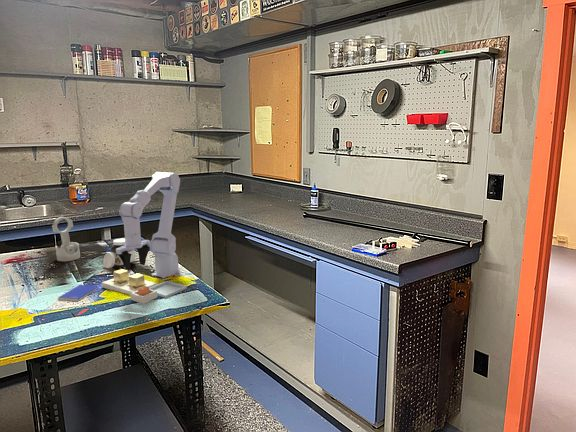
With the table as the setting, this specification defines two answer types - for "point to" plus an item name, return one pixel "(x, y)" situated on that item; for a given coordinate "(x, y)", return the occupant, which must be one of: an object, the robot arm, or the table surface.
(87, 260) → the table surface
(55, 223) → the engine component
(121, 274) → the block
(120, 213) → the robot arm
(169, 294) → the tray
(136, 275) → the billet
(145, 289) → the button
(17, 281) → the table surface
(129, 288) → the frame
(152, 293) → the button housing
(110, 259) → the spread jar
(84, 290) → the hard drive
